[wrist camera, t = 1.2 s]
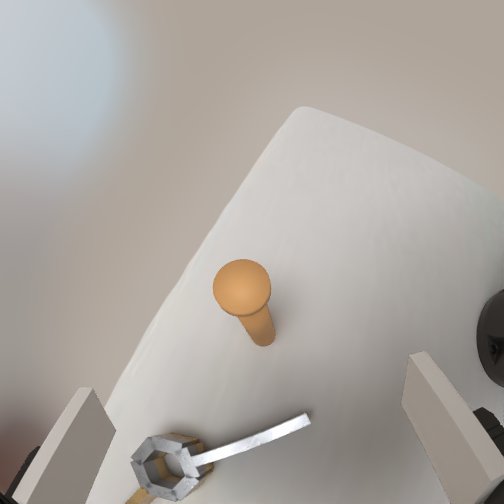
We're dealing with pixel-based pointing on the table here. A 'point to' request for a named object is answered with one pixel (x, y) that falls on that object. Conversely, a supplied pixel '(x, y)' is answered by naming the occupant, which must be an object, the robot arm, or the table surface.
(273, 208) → the table surface
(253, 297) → the hinge pin
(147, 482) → the hinge leaf
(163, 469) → the hinge leaf
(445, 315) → the table surface
